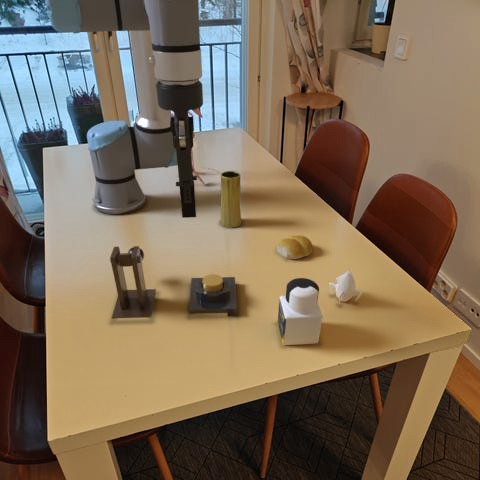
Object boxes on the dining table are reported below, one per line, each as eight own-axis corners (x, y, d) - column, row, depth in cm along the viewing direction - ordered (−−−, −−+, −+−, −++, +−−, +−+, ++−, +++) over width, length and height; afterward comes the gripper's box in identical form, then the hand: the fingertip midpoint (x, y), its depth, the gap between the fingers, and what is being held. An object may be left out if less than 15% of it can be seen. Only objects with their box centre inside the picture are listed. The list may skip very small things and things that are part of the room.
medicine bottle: (277, 322, 90) (281, 274, 82) (310, 321, 90) (317, 273, 83) (282, 346, 84) (287, 296, 77) (318, 344, 85) (326, 294, 77)
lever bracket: (120, 294, 98) (109, 239, 89) (156, 293, 98) (148, 239, 89) (112, 322, 90) (99, 265, 81) (151, 321, 90) (141, 265, 81)
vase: (239, 228, 122) (239, 179, 113) (218, 226, 123) (216, 177, 114) (243, 219, 127) (243, 171, 118) (223, 217, 128) (222, 169, 119)
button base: (192, 285, 100) (190, 270, 98) (234, 284, 101) (234, 269, 98) (189, 317, 91) (188, 302, 89) (236, 316, 92) (236, 301, 89)
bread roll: (318, 253, 112) (320, 239, 109) (290, 263, 108) (292, 249, 105) (297, 240, 117) (299, 226, 115) (271, 249, 113) (272, 235, 111)
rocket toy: (327, 294, 98) (331, 264, 93) (349, 290, 99) (354, 261, 94) (337, 308, 94) (342, 277, 89) (360, 304, 95) (366, 274, 90)
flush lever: (129, 262, 98) (128, 246, 97) (145, 262, 98) (144, 246, 97) (116, 269, 85) (114, 251, 84) (134, 269, 85) (133, 251, 85)
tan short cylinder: (202, 281, 95) (202, 274, 94) (222, 280, 96) (222, 274, 94) (202, 292, 92) (202, 286, 91) (223, 292, 92) (223, 285, 91)
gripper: (157, 73, 75) (170, 202, 89) (152, 89, 64) (168, 232, 79) (201, 72, 75) (207, 201, 90) (203, 88, 65) (209, 230, 80)
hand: (189, 215), depth 85 cm, fingers closed
